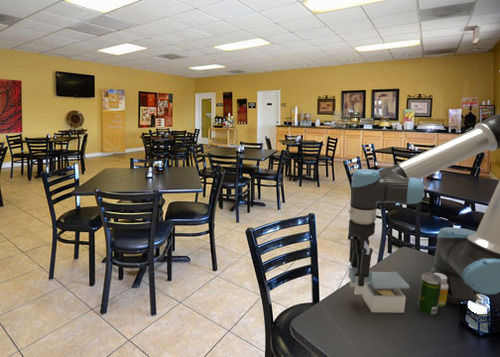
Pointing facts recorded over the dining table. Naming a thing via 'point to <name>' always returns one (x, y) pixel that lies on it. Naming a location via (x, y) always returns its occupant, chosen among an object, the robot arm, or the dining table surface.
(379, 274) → the lid
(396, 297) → the tub
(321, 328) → the dining table surface
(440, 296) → the supplement bottle
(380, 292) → the brass part
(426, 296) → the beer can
